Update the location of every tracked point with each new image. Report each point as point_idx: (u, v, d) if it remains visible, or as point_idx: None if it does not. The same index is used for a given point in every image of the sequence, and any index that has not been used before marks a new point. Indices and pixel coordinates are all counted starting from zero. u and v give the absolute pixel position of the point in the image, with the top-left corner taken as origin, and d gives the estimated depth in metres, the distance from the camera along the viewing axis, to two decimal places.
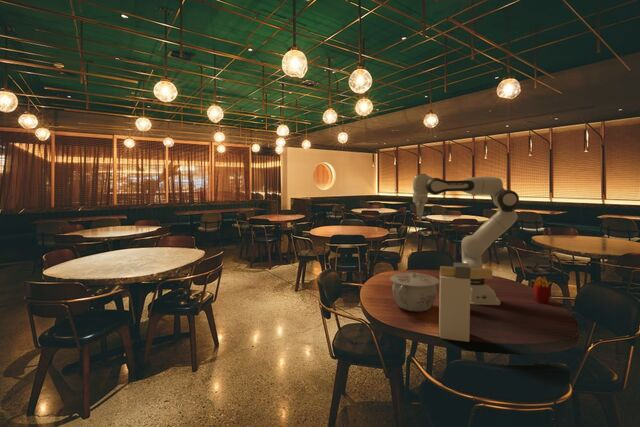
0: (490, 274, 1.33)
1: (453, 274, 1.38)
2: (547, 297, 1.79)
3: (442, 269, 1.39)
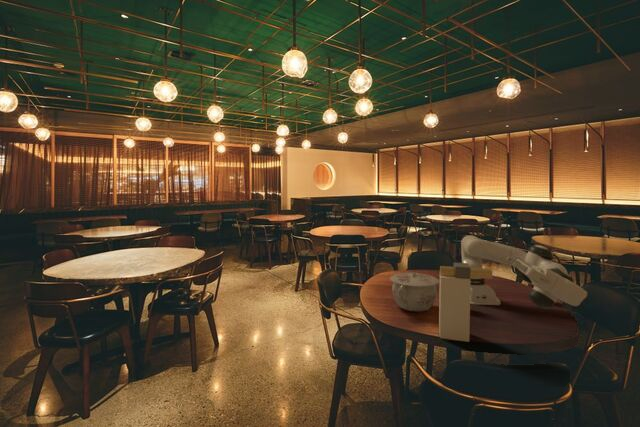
0: (490, 274, 1.33)
1: (453, 274, 1.38)
2: None
3: (442, 269, 1.39)
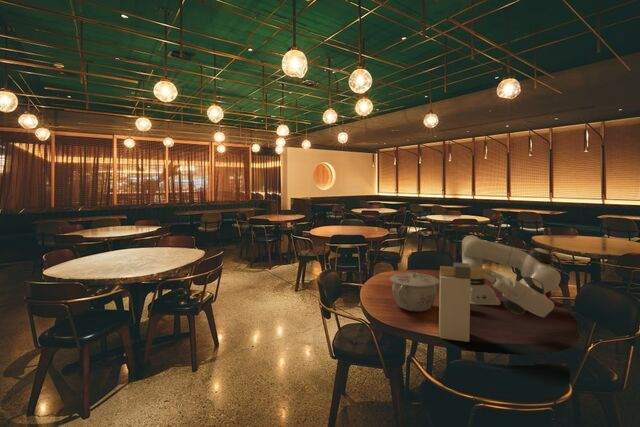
0: (490, 274, 1.33)
1: (453, 274, 1.38)
2: (547, 297, 1.79)
3: (442, 269, 1.39)
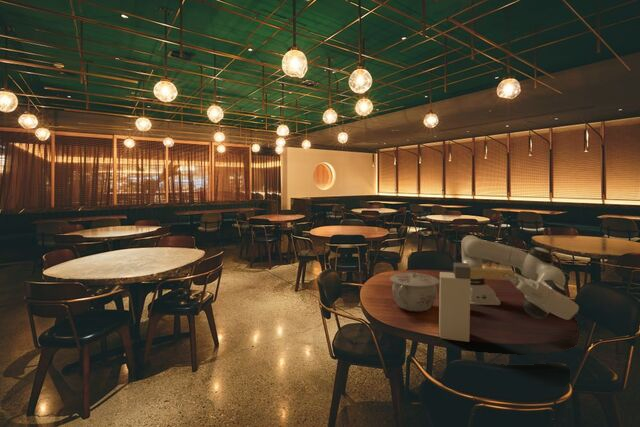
0: (512, 275, 1.30)
1: (474, 275, 1.35)
2: None
3: None
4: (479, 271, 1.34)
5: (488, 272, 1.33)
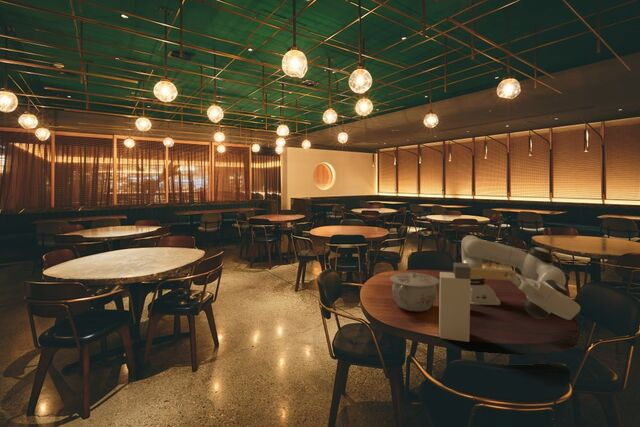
0: (514, 275, 1.30)
1: (475, 275, 1.35)
2: None
3: None
4: (480, 271, 1.34)
5: (489, 272, 1.33)
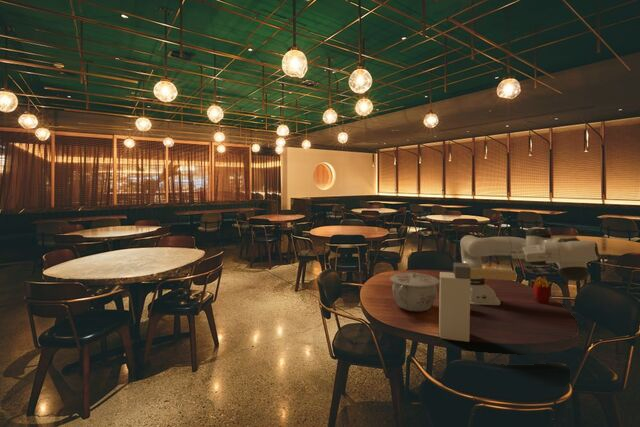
0: (514, 275, 1.30)
1: (475, 275, 1.35)
2: (547, 297, 1.79)
3: None
4: (480, 271, 1.34)
5: (489, 272, 1.33)
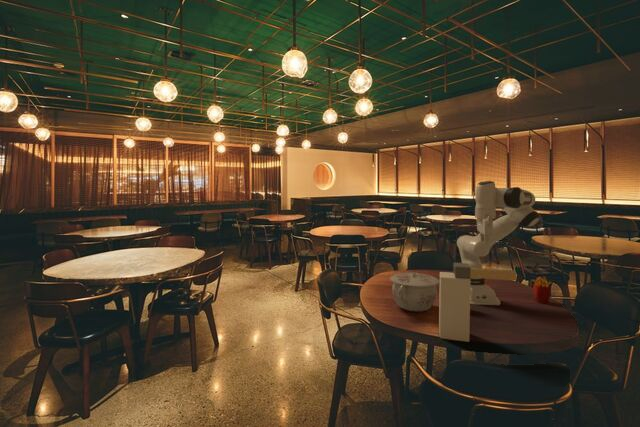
0: (514, 275, 1.30)
1: (475, 275, 1.35)
2: (547, 297, 1.79)
3: None
4: (480, 271, 1.34)
5: (489, 272, 1.33)
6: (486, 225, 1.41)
